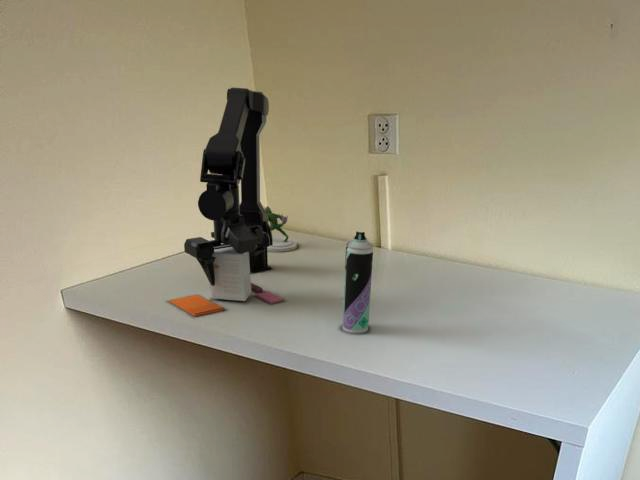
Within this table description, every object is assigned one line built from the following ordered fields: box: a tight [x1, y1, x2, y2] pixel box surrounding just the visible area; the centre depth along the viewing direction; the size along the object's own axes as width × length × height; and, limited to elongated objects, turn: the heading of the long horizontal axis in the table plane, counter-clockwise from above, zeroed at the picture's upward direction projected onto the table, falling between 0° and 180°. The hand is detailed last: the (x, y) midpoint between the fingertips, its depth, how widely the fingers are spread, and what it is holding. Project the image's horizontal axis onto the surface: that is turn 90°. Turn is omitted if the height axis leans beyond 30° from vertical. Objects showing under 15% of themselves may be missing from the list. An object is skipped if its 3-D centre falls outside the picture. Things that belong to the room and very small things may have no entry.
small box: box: [209, 247, 252, 302], centre depth 152 cm, size 8×6×10 cm
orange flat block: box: [169, 294, 224, 318], centre depth 149 cm, size 7×11×1 cm, turn 42°
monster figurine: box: [263, 205, 298, 253], centre depth 190 cm, size 12×12×10 cm
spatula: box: [251, 282, 284, 305], centre depth 159 cm, size 17×4×2 cm, turn 42°
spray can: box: [342, 231, 374, 335], centre depth 138 cm, size 6×6×20 cm
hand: (230, 281), depth 153 cm, fingers closed on small box, 9 cm apart
